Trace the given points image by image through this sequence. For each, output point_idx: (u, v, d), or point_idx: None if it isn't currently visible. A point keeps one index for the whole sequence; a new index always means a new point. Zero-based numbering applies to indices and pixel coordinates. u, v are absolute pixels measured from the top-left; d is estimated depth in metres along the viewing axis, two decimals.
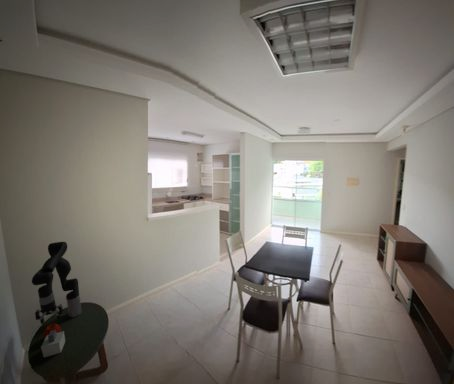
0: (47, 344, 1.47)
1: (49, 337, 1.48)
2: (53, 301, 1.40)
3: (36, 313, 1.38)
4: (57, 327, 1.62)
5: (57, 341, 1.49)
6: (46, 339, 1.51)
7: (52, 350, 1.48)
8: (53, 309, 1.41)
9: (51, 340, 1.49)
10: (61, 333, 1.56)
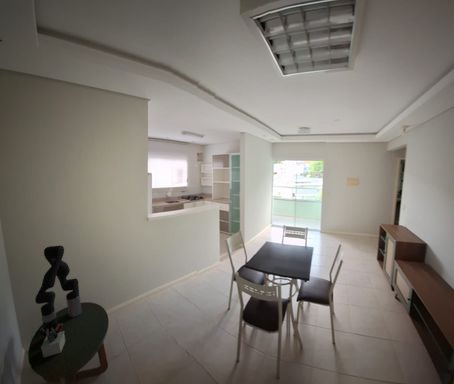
0: (47, 344, 1.47)
1: (49, 337, 1.48)
2: (55, 318, 1.49)
3: (40, 332, 1.47)
4: (57, 327, 1.62)
5: (57, 341, 1.49)
6: (46, 339, 1.51)
7: (52, 350, 1.48)
8: (55, 327, 1.50)
9: (51, 340, 1.49)
10: (61, 333, 1.56)
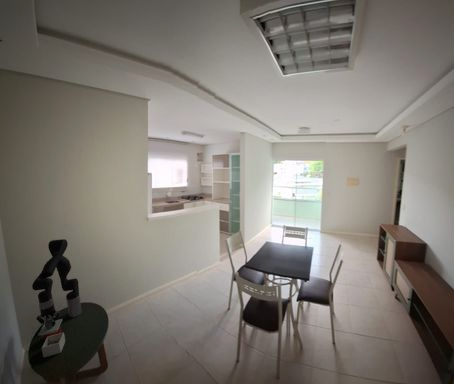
0: (45, 331, 1.45)
1: (47, 324, 1.46)
2: (52, 306, 1.47)
3: (37, 319, 1.45)
4: None
5: (55, 328, 1.47)
6: (44, 326, 1.49)
7: (52, 350, 1.48)
8: (52, 314, 1.48)
9: (49, 327, 1.47)
10: (59, 321, 1.54)
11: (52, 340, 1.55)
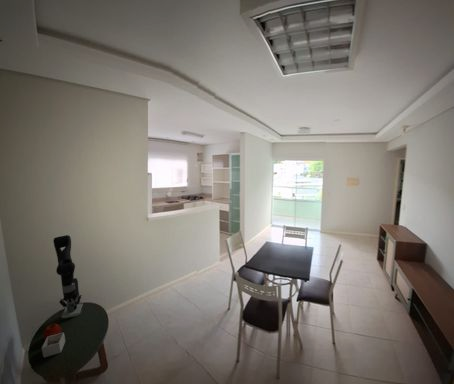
0: (67, 314, 1.51)
1: (69, 307, 1.53)
2: (74, 290, 1.53)
3: (60, 302, 1.51)
4: (57, 327, 1.62)
5: (77, 312, 1.54)
6: (66, 310, 1.55)
7: (52, 350, 1.48)
8: (74, 298, 1.54)
9: (71, 311, 1.53)
10: (80, 305, 1.60)
11: (52, 340, 1.55)
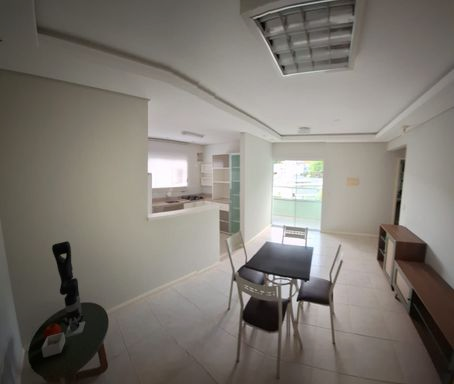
0: (70, 333, 1.54)
1: (72, 326, 1.55)
2: (77, 308, 1.56)
3: (63, 321, 1.54)
4: (57, 327, 1.62)
5: (79, 330, 1.56)
6: (69, 328, 1.58)
7: (52, 350, 1.48)
8: (77, 317, 1.57)
9: (74, 329, 1.56)
10: (82, 323, 1.63)
11: (52, 340, 1.55)
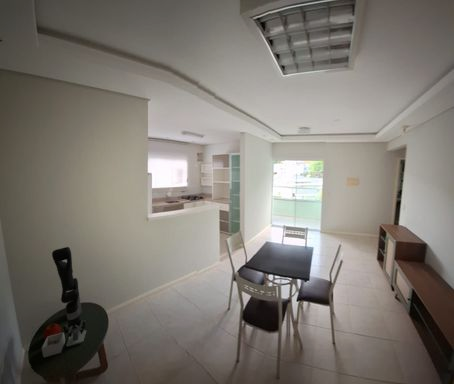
0: (72, 342, 1.56)
1: (73, 336, 1.57)
2: (78, 316, 1.57)
3: (64, 328, 1.55)
4: (57, 327, 1.62)
5: (81, 339, 1.58)
6: (70, 337, 1.60)
7: (52, 350, 1.48)
8: (78, 323, 1.58)
9: (75, 338, 1.58)
10: (83, 332, 1.65)
11: (52, 340, 1.55)
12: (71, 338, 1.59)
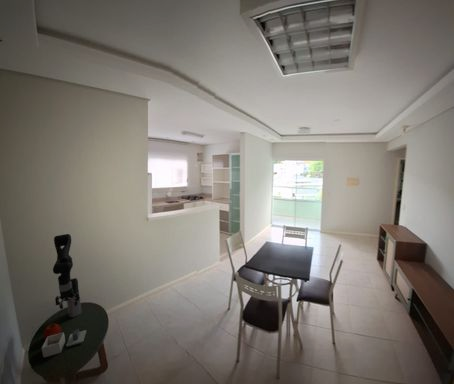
0: (72, 342, 1.56)
1: (73, 336, 1.57)
2: (71, 288, 1.55)
3: (56, 299, 1.52)
4: (57, 327, 1.62)
5: (81, 339, 1.58)
6: (70, 337, 1.60)
7: (52, 350, 1.48)
8: (71, 296, 1.56)
9: (75, 338, 1.58)
10: (83, 332, 1.65)
11: (52, 340, 1.55)
12: (71, 338, 1.59)
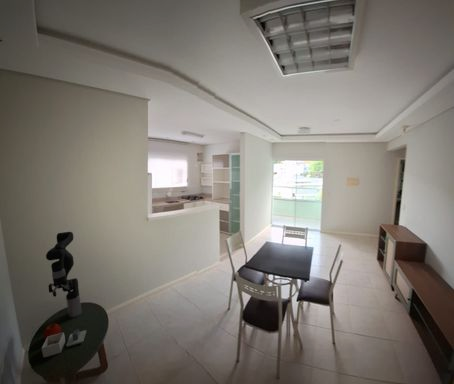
0: (72, 342, 1.56)
1: (73, 336, 1.57)
2: (64, 276, 1.56)
3: (49, 286, 1.53)
4: (57, 327, 1.62)
5: (81, 339, 1.58)
6: (70, 337, 1.60)
7: (52, 350, 1.48)
8: (64, 283, 1.56)
9: (75, 338, 1.58)
10: (83, 332, 1.65)
11: (52, 340, 1.55)
12: (71, 338, 1.59)
